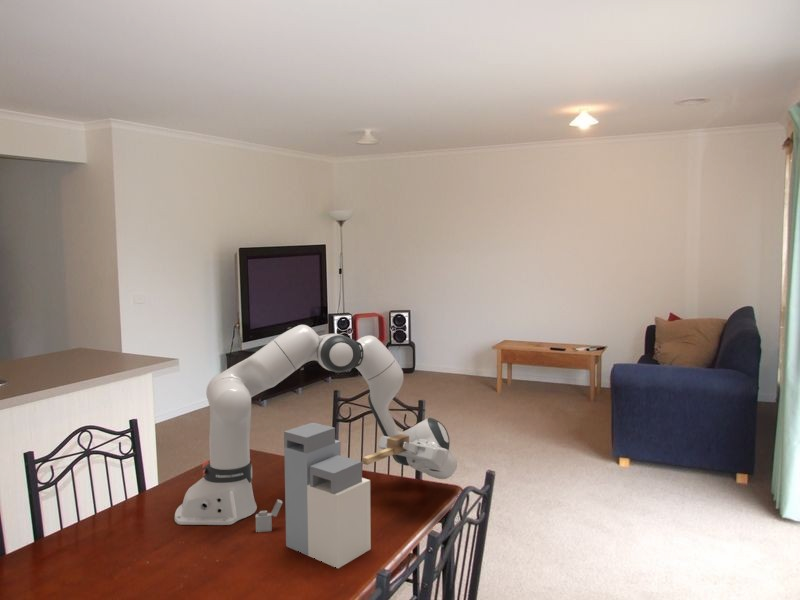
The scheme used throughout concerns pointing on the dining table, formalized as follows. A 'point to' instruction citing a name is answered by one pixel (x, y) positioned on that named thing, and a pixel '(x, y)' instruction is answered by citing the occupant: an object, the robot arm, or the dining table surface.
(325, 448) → the stand
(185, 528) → the dining table surface
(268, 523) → the lighter
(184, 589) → the dining table surface
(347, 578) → the dining table surface
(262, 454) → the dining table surface
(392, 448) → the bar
